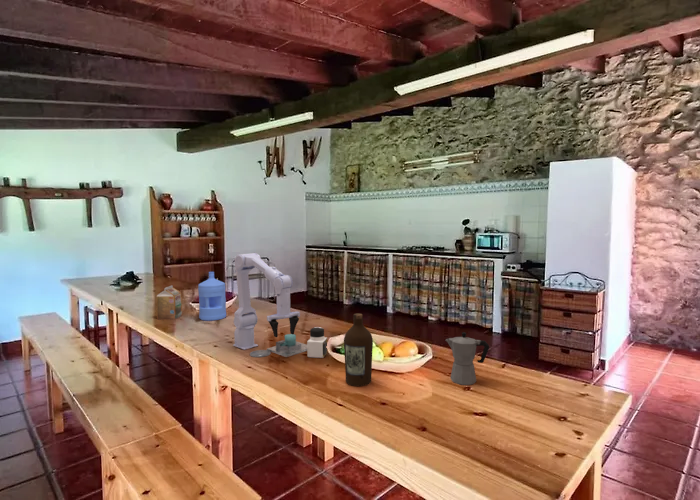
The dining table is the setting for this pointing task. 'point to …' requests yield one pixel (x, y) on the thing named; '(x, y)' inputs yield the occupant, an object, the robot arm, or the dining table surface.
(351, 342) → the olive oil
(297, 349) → the post base
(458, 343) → the coffeepot
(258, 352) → the coaster
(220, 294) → the water jug
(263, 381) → the dining table surface
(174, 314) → the milk carton
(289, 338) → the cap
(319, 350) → the medicine bottle
